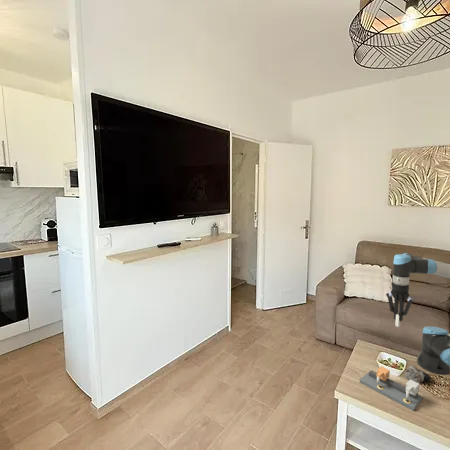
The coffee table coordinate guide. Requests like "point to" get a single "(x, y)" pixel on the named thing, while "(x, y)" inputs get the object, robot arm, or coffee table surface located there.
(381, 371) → the sliding leg
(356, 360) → the coffee table surface
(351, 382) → the coffee table surface
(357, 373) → the coffee table surface
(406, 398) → the plate
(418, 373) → the grey rock
